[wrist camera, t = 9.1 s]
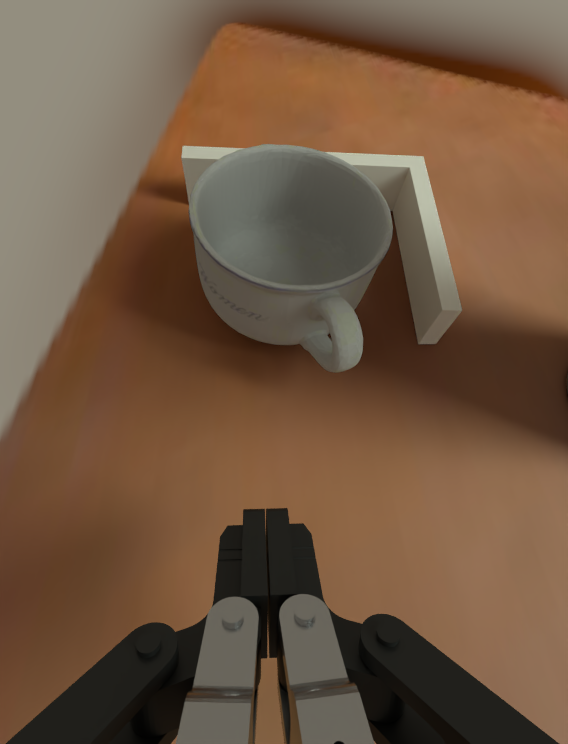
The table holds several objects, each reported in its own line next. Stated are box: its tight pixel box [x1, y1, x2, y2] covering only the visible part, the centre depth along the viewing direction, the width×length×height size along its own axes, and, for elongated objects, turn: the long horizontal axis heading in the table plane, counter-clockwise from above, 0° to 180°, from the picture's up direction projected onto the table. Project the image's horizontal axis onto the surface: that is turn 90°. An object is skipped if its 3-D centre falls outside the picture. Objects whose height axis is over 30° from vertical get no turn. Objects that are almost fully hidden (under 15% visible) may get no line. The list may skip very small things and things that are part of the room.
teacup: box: [189, 144, 393, 373], centre depth 25 cm, size 14×11×8 cm
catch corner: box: [182, 146, 462, 344], centre depth 29 cm, size 17×13×4 cm
